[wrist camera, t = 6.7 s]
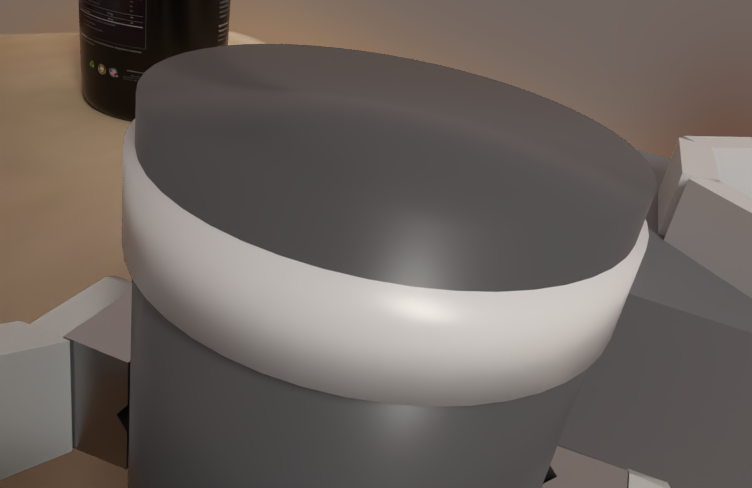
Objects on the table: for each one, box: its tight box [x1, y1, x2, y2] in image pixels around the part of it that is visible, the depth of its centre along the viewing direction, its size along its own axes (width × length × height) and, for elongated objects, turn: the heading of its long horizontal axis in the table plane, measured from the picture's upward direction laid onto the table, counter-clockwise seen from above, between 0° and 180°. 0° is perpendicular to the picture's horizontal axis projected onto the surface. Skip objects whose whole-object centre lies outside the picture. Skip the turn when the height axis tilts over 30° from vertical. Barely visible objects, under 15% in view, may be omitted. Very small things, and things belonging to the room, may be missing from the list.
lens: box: [122, 44, 657, 488], centre depth 9 cm, size 5×5×10 cm
